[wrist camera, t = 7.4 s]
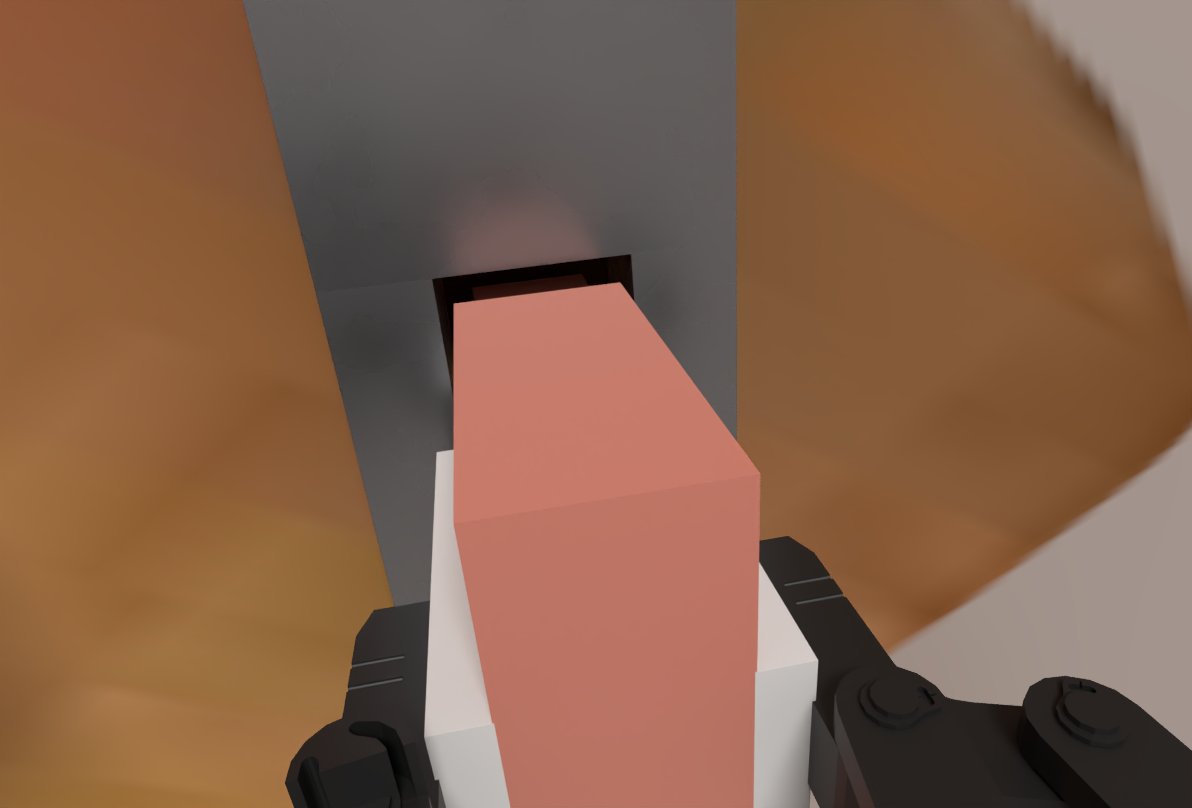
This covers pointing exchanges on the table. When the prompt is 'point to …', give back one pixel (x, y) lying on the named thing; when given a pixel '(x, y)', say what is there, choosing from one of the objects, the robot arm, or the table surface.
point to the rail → (497, 194)
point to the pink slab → (603, 553)
